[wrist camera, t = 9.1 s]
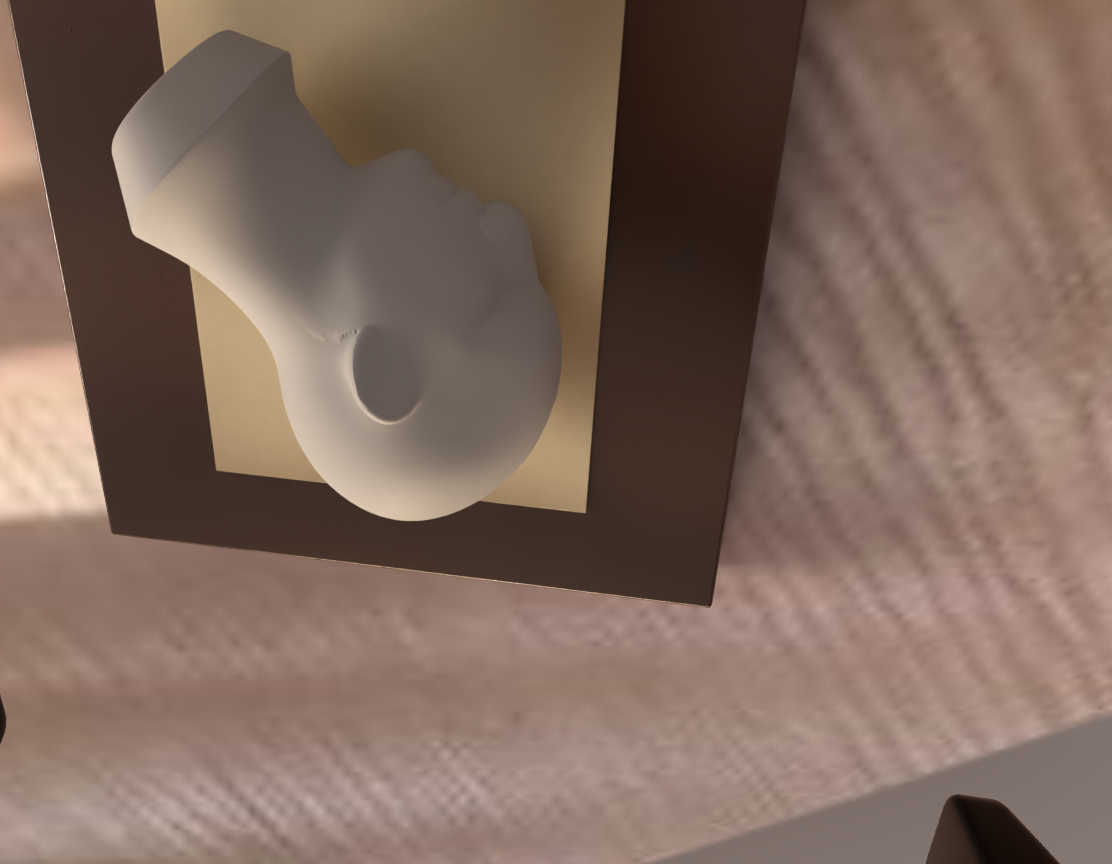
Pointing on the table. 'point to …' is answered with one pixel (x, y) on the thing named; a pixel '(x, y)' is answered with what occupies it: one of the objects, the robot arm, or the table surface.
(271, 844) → the table surface
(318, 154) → the smooth white sculpture
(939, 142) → the table surface
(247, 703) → the table surface
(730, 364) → the flat display stand
